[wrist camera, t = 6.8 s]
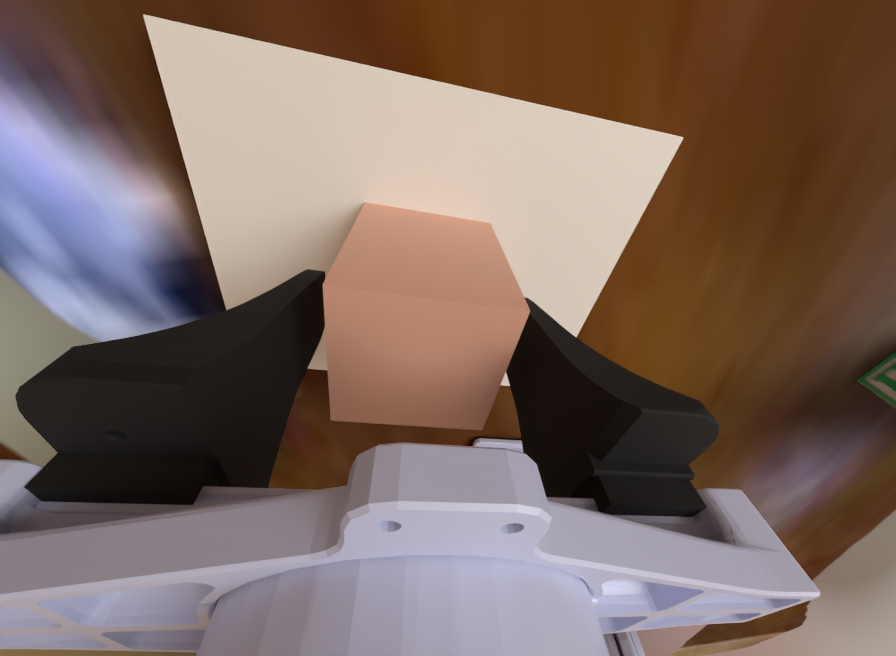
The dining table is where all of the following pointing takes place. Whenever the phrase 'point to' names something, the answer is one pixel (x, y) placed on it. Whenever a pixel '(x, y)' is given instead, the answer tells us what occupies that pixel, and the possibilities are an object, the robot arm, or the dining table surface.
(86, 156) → the dining table surface
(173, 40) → the post board
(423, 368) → the salmon orange block
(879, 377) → the stack of blocks
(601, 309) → the dining table surface
